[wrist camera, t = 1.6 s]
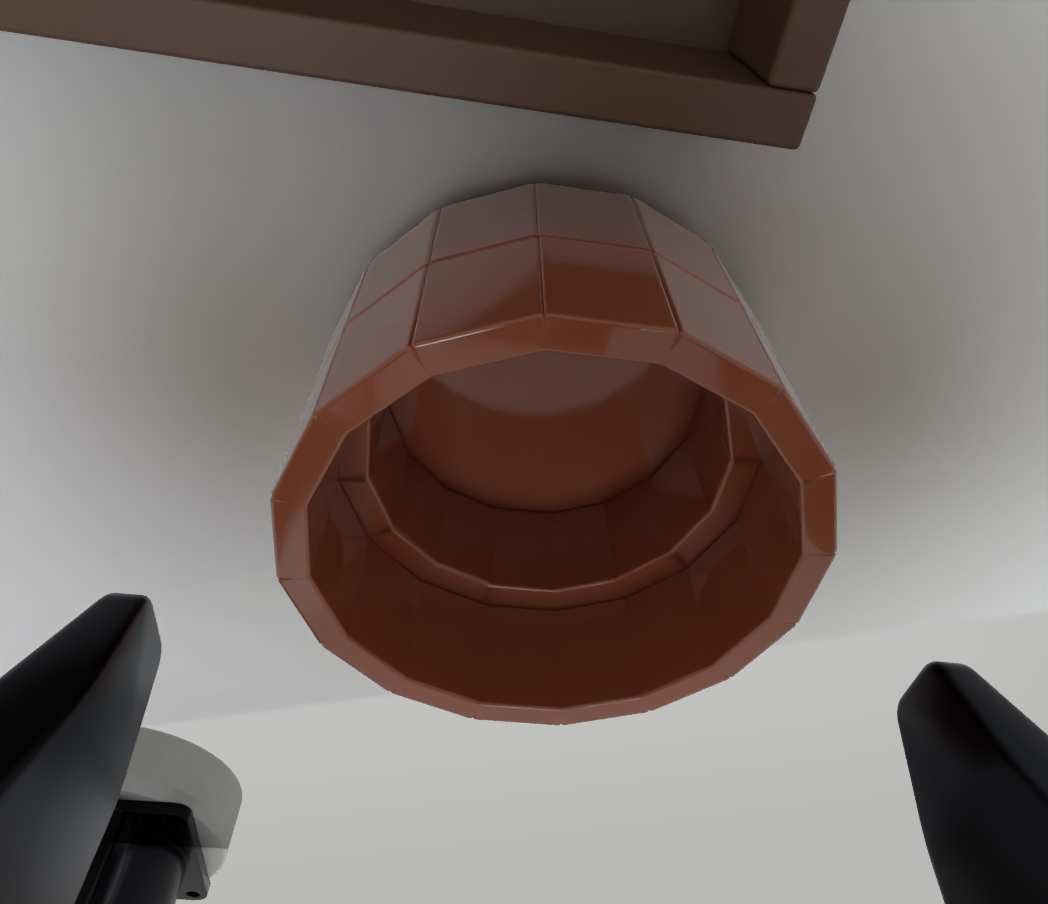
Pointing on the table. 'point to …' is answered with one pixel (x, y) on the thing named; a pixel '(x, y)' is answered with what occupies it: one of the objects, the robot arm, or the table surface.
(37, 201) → the table surface
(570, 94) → the tray
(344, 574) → the plant pot
